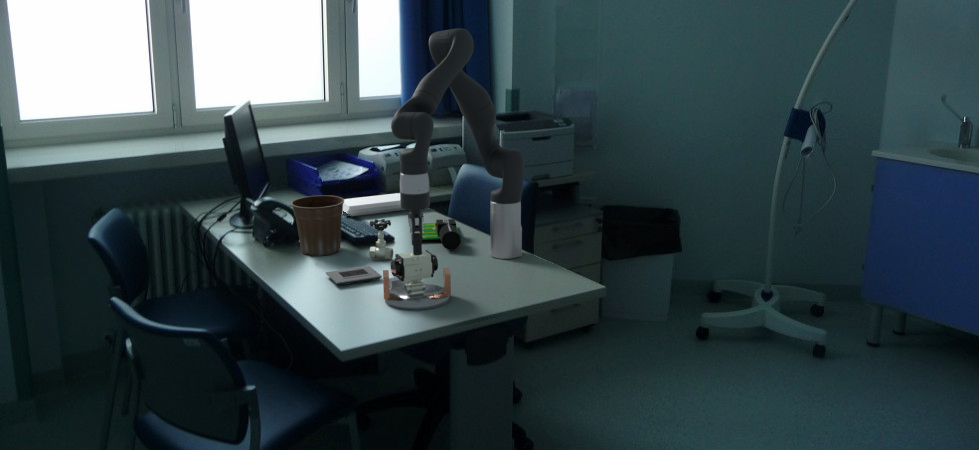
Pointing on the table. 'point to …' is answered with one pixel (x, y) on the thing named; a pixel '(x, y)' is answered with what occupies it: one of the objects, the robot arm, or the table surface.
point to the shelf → (372, 204)
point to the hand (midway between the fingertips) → (416, 249)
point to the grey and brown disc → (427, 300)
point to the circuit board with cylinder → (443, 233)
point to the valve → (380, 241)
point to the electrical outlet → (353, 275)
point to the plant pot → (319, 223)
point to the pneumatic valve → (414, 270)
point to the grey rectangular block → (395, 282)
